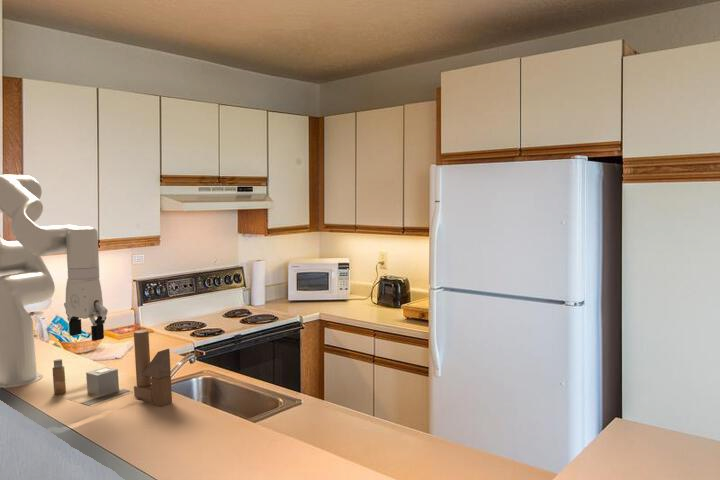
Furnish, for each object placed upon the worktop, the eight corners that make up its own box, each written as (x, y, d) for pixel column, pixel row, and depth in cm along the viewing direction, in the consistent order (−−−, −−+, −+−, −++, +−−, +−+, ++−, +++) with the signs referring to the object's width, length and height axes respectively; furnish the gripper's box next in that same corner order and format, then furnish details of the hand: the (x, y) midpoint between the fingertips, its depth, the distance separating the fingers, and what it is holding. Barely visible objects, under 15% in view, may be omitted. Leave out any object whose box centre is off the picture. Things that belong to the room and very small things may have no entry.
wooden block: (161, 407, 145) (157, 336, 144) (134, 399, 151) (129, 332, 150) (173, 402, 148) (169, 333, 147) (145, 395, 154) (142, 329, 153)
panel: (52, 398, 154) (51, 393, 154) (93, 384, 164) (93, 380, 164) (92, 410, 144) (91, 406, 144) (133, 395, 154) (133, 391, 154)
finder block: (87, 392, 154) (86, 371, 154) (107, 386, 159) (106, 365, 159) (98, 396, 152) (97, 374, 151) (119, 389, 157) (117, 368, 156)
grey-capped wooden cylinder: (52, 393, 154) (49, 360, 153) (62, 390, 156) (59, 358, 156) (57, 395, 153) (55, 362, 152) (68, 392, 155) (65, 359, 154)
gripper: (50, 273, 154) (54, 336, 155) (90, 278, 145) (93, 345, 146) (77, 269, 160) (80, 330, 162) (117, 274, 151) (119, 338, 153)
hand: (86, 337), depth 154 cm, fingers open, 9 cm apart
